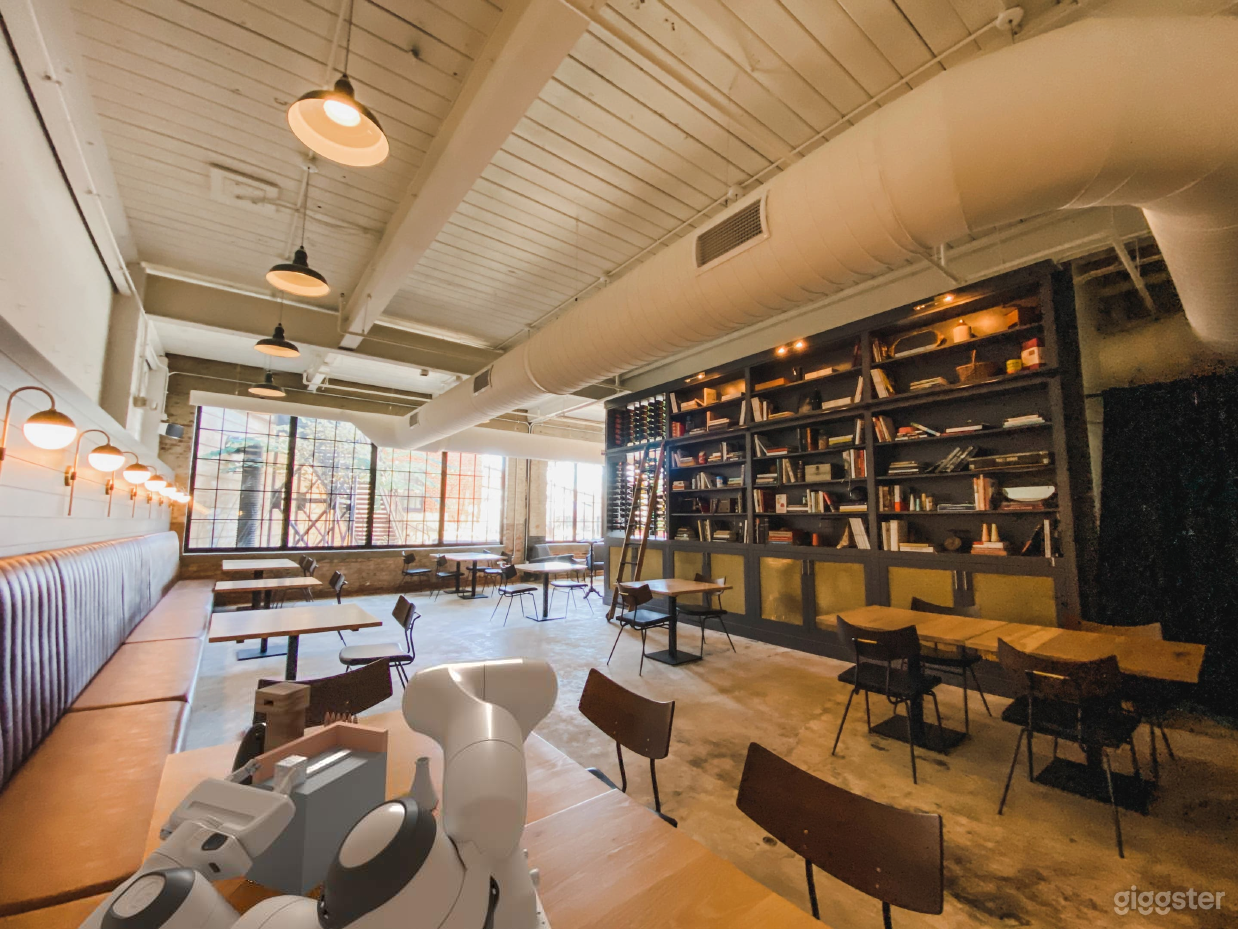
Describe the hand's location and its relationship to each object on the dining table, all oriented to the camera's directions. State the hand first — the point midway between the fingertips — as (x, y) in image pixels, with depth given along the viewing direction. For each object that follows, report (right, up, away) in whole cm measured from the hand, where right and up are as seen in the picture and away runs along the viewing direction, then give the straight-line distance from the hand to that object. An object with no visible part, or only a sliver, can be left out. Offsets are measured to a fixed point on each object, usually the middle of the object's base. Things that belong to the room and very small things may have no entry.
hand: (276, 766), depth 88 cm
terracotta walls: (+3, -5, +9) cm, 11 cm away
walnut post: (-10, -22, +14) cm, 29 cm away
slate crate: (+3, -22, +7) cm, 23 cm away
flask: (+16, -24, +24) cm, 37 cm away
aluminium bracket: (+3, -5, +7) cm, 9 cm away
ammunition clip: (-15, -26, +47) cm, 56 cm away
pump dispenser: (-26, -25, +31) cm, 48 cm away
